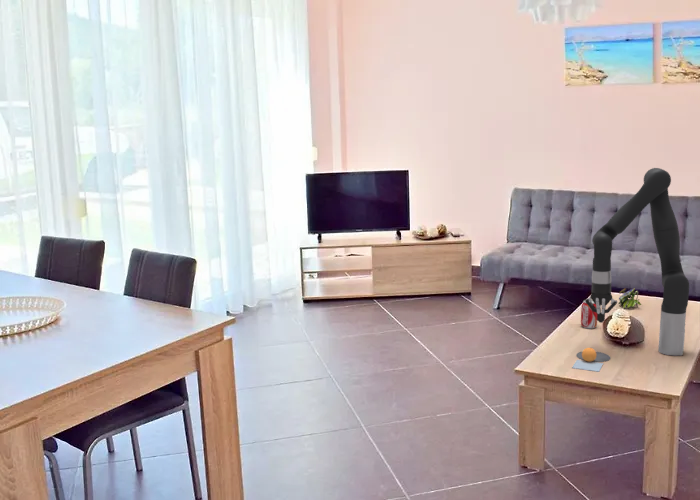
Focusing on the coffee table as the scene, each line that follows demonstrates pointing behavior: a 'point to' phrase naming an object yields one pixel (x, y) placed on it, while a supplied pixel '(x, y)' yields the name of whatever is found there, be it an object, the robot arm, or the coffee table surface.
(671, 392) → the coffee table surface
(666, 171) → the robot arm
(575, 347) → the coffee table surface
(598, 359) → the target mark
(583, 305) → the soda can
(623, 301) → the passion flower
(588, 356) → the ball
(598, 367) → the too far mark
